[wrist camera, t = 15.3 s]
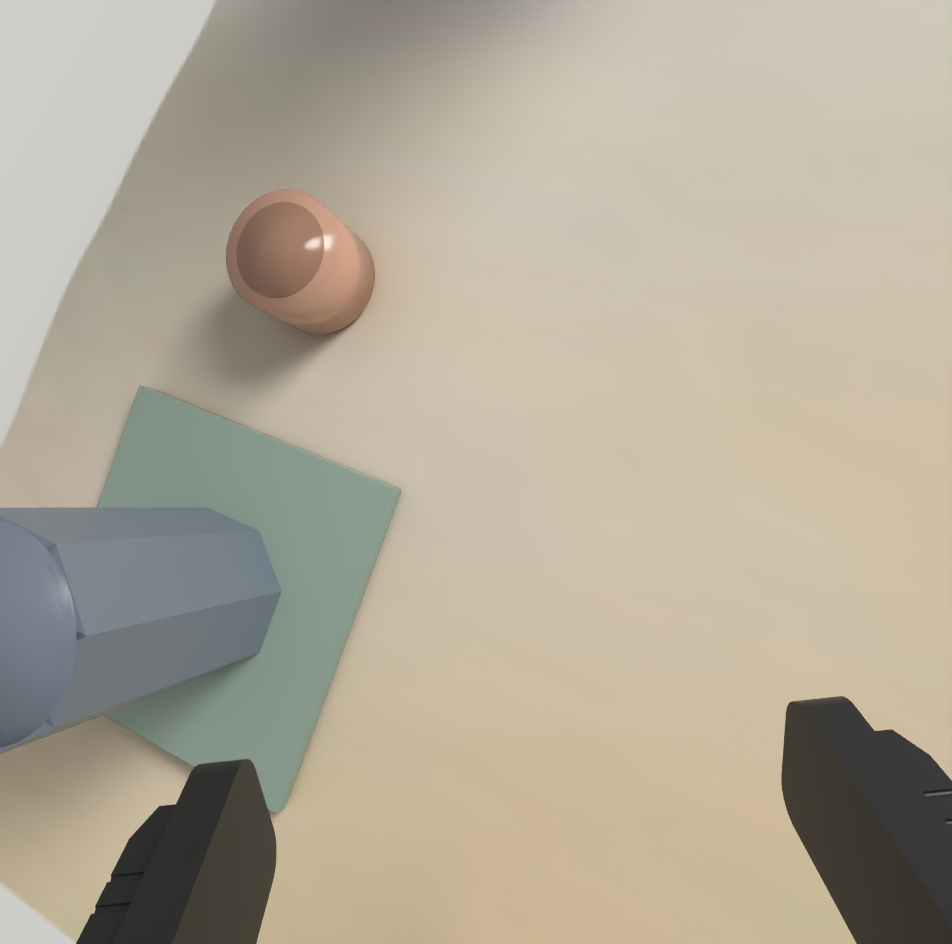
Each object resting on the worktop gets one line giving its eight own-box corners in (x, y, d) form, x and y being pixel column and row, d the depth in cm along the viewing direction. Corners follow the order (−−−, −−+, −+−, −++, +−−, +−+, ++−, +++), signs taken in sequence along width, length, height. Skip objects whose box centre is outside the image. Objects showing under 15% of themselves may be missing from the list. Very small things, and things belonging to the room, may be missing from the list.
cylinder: (296, 214, 29) (249, 175, 26) (390, 242, 28) (353, 206, 25) (260, 315, 30) (208, 290, 26) (352, 348, 29) (310, 326, 25)
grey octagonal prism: (171, 491, 30) (-63, 484, 20) (297, 547, 28) (109, 570, 18) (122, 630, 30) (-131, 690, 20) (244, 694, 28) (31, 792, 19)
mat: (149, 387, 31) (139, 385, 30) (401, 489, 28) (396, 489, 27) (49, 674, 32) (38, 677, 31) (284, 808, 28) (277, 814, 28)
